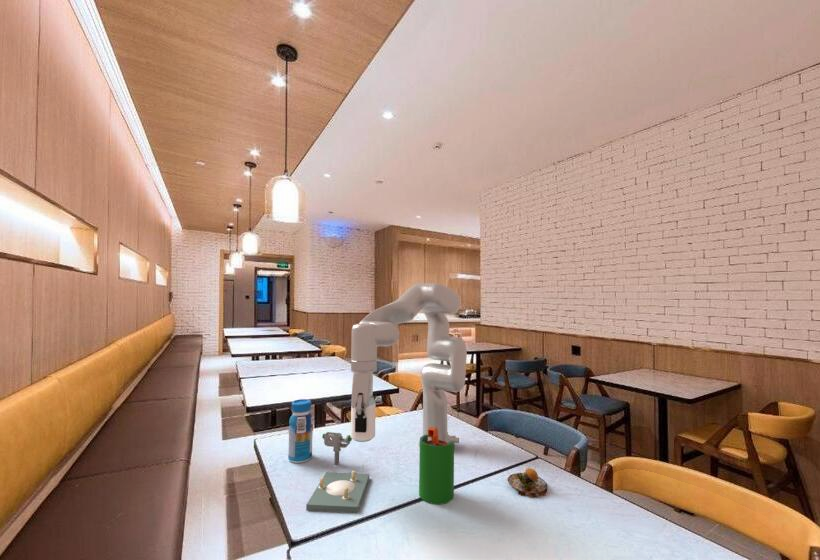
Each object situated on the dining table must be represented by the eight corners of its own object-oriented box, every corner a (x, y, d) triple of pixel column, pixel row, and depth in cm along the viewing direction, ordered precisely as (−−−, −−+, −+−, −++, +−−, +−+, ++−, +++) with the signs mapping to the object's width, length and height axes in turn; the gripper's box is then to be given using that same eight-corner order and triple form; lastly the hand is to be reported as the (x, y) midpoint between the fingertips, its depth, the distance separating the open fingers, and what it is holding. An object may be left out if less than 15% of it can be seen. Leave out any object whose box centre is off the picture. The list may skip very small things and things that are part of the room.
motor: (456, 491, 107) (456, 422, 108) (449, 507, 98) (449, 433, 99) (423, 484, 110) (424, 418, 111) (414, 500, 101) (415, 428, 102)
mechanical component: (349, 467, 121) (349, 437, 121) (321, 464, 123) (321, 434, 123) (352, 463, 124) (352, 434, 124) (324, 460, 126) (325, 431, 126)
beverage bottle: (282, 461, 125) (284, 403, 126) (298, 451, 133) (299, 397, 134) (302, 465, 122) (303, 406, 123) (317, 455, 129) (318, 399, 130)
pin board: (369, 478, 113) (369, 465, 114) (357, 512, 95) (357, 497, 96) (326, 476, 114) (326, 464, 114) (306, 510, 96) (306, 495, 97)
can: (365, 445, 99) (365, 401, 100) (345, 439, 103) (346, 397, 104) (379, 436, 105) (380, 395, 106) (360, 432, 109) (361, 392, 110)
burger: (519, 474, 118) (519, 451, 118) (554, 488, 109) (554, 463, 110) (499, 487, 109) (499, 462, 110) (536, 503, 101) (536, 476, 101)
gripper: (356, 360, 114) (355, 416, 113) (344, 371, 97) (343, 438, 96) (380, 360, 114) (379, 417, 113) (372, 372, 96) (371, 439, 96)
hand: (363, 426), depth 104 cm, fingers closed on can, 7 cm apart
